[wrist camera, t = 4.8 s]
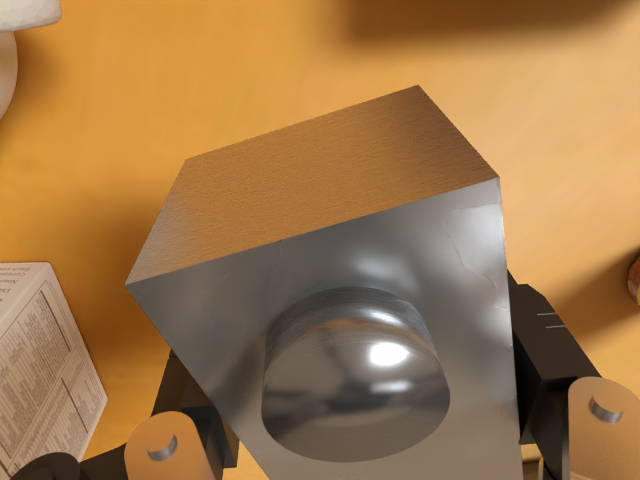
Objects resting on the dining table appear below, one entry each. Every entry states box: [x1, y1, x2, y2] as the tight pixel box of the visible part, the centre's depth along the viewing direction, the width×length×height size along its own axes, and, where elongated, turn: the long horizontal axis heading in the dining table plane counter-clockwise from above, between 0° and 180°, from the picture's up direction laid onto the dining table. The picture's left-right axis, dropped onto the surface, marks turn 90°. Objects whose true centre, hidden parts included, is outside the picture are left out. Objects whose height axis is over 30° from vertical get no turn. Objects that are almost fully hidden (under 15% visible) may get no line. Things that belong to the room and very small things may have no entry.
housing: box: [124, 85, 523, 480], centre depth 10 cm, size 10×6×6 cm, turn 17°
